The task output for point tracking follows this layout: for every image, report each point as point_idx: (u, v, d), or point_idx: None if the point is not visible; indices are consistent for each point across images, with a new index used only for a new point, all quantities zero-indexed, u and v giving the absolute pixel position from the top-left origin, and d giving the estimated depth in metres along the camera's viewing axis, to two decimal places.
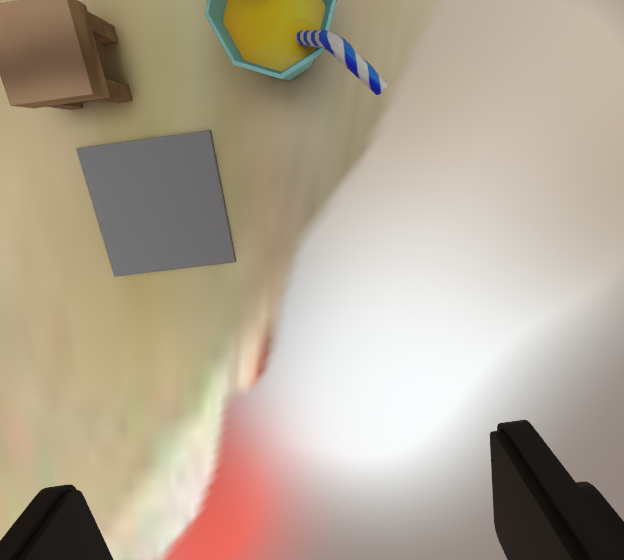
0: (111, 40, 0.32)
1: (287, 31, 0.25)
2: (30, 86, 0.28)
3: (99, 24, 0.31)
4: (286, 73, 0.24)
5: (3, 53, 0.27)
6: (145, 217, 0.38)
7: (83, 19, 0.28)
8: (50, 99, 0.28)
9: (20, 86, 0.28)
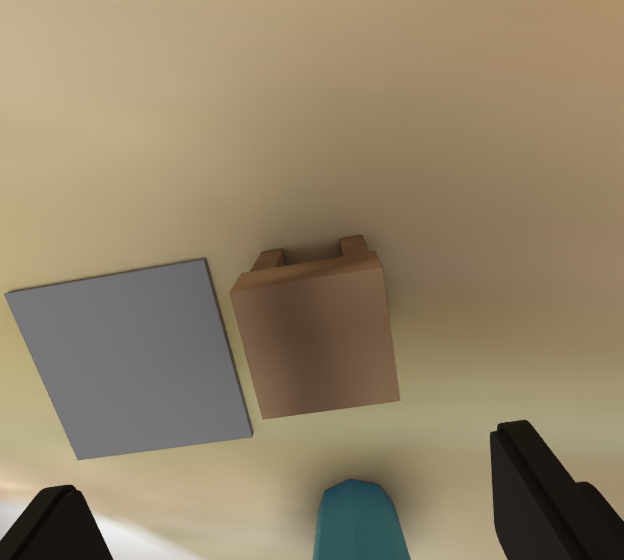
0: None
1: None
2: (264, 330, 0.16)
3: None
4: None
5: (312, 296, 0.16)
6: (115, 349, 0.24)
7: None
8: (247, 355, 0.17)
9: (262, 314, 0.16)
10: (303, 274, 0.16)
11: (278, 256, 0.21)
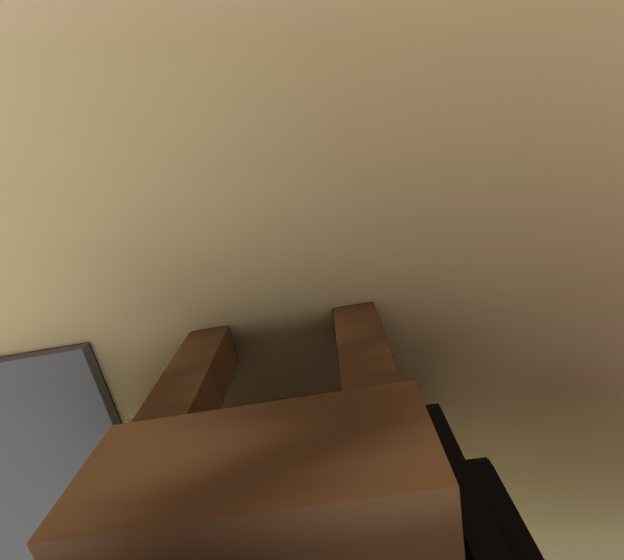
0: None
1: None
2: None
3: None
4: None
5: (259, 554, 0.06)
6: None
7: None
8: None
9: None
10: (238, 474, 0.06)
11: (212, 353, 0.11)
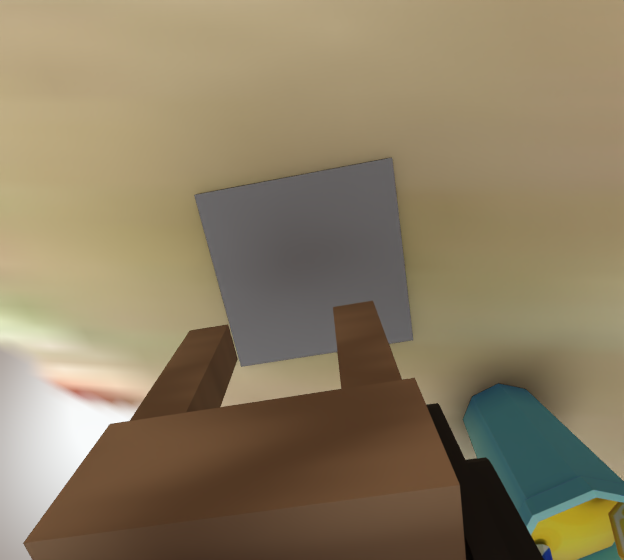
0: None
1: (549, 531, 0.22)
2: None
3: None
4: None
5: (258, 553, 0.06)
6: (294, 250, 0.25)
7: None
8: None
9: None
10: (237, 472, 0.06)
11: (211, 351, 0.11)
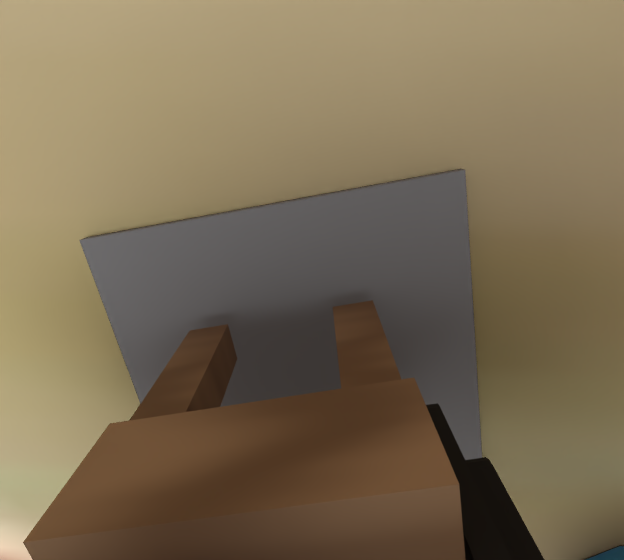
0: None
1: None
2: None
3: None
4: None
5: (258, 553, 0.06)
6: (273, 340, 0.14)
7: None
8: None
9: None
10: (237, 472, 0.06)
11: (212, 351, 0.11)
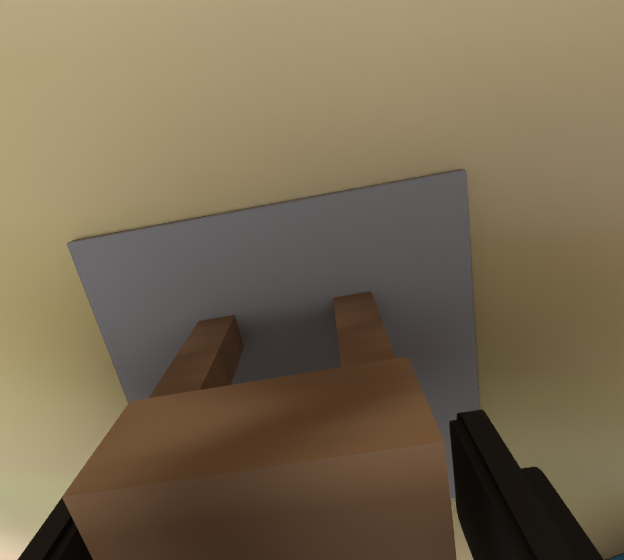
0: None
1: None
2: None
3: None
4: None
5: (268, 505, 0.06)
6: (268, 345, 0.13)
7: None
8: None
9: (150, 540, 0.07)
10: (249, 437, 0.07)
11: (220, 338, 0.11)
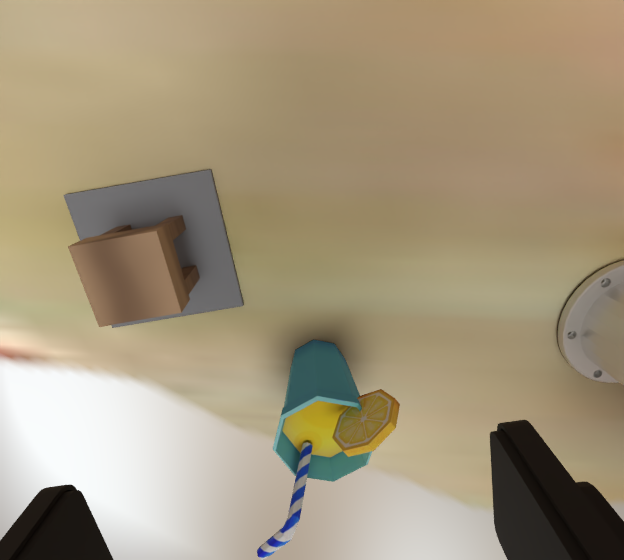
0: None
1: (312, 433, 0.31)
2: (92, 269, 0.27)
3: None
4: (277, 453, 0.29)
5: (118, 249, 0.27)
6: None
7: None
8: (84, 286, 0.28)
9: (89, 260, 0.27)
10: (115, 236, 0.27)
11: (121, 228, 0.32)
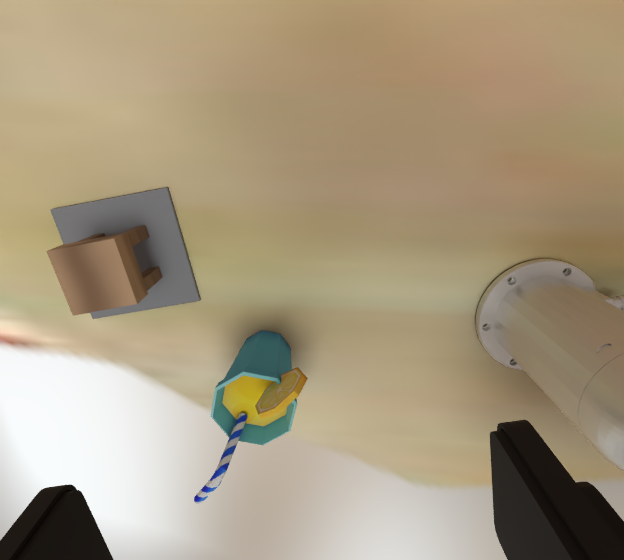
0: None
1: (247, 405, 0.37)
2: (66, 269, 0.35)
3: None
4: (214, 419, 0.36)
5: (85, 252, 0.34)
6: None
7: None
8: (60, 282, 0.35)
9: (63, 261, 0.34)
10: (84, 243, 0.35)
11: (94, 236, 0.39)
